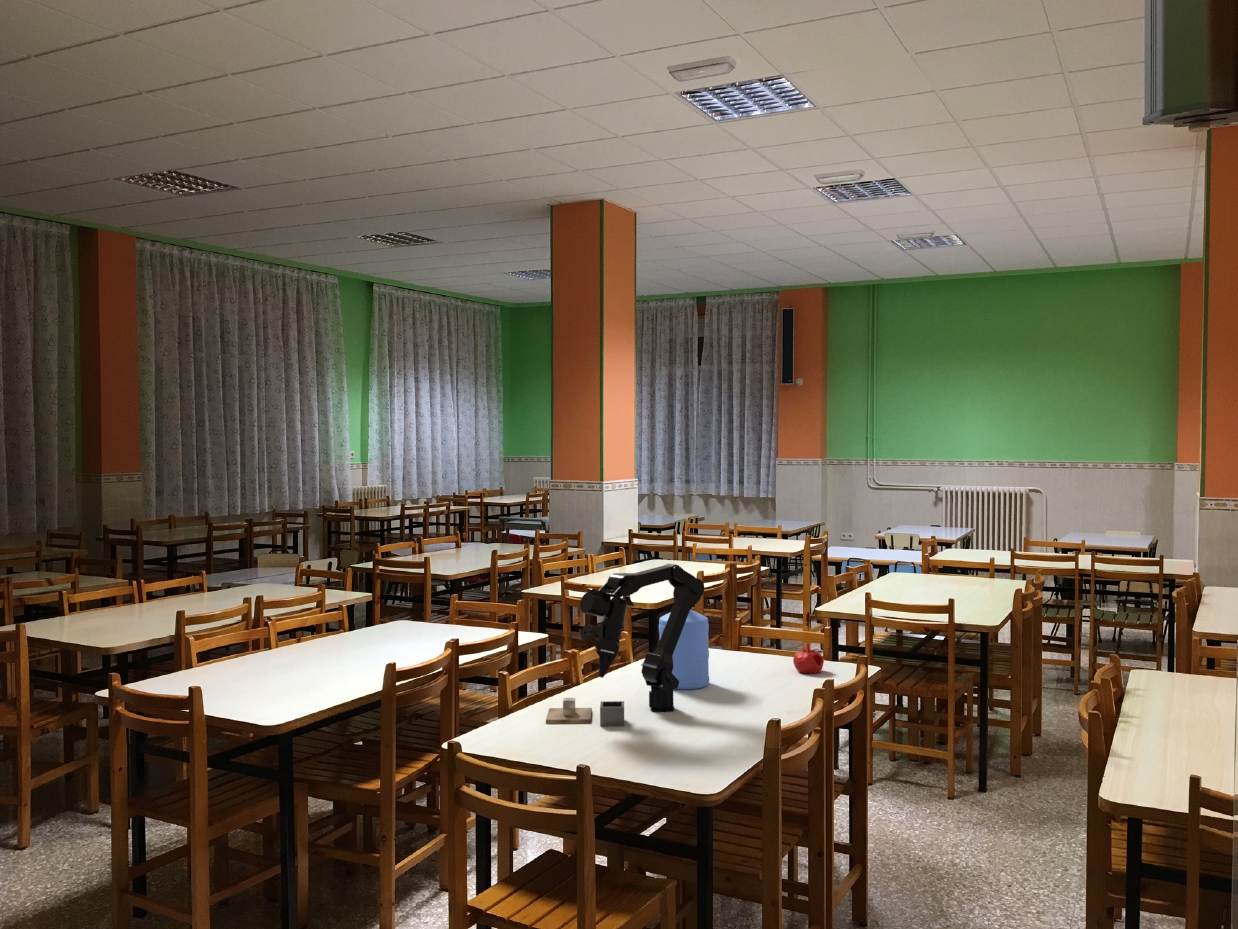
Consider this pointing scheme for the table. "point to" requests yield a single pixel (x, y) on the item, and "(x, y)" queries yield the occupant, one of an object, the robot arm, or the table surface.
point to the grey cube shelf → (612, 713)
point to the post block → (569, 713)
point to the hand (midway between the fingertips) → (601, 676)
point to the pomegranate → (808, 661)
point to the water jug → (691, 652)
